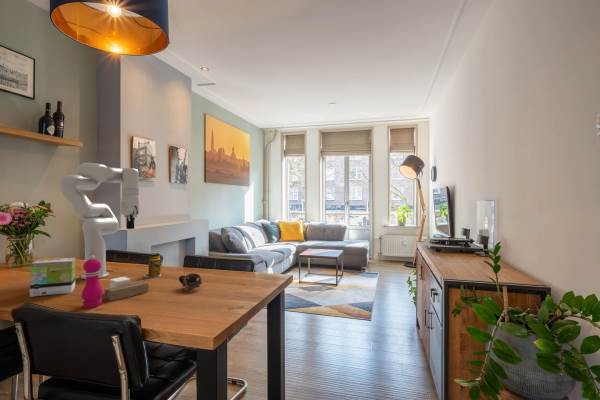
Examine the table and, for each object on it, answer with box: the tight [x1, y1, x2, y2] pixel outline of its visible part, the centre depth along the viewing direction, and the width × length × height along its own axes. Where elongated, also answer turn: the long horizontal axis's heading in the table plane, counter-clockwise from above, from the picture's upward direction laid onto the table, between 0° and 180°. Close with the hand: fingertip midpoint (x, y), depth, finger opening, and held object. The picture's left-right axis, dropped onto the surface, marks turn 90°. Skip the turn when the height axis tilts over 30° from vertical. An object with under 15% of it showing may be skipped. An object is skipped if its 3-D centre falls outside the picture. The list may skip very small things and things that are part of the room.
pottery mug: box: [178, 272, 203, 292], centre depth 149 cm, size 12×10×8 cm
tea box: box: [29, 257, 77, 298], centre depth 142 cm, size 15×10×15 cm
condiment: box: [143, 252, 163, 278], centre depth 173 cm, size 7×8×12 cm
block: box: [109, 276, 132, 288], centre depth 143 cm, size 7×6×6 cm
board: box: [103, 280, 149, 302], centre depth 139 cm, size 6×16×4 cm, turn 144°
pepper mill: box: [81, 255, 104, 309], centre depth 125 cm, size 7×7×20 cm
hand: (130, 228), depth 160 cm, fingers closed
